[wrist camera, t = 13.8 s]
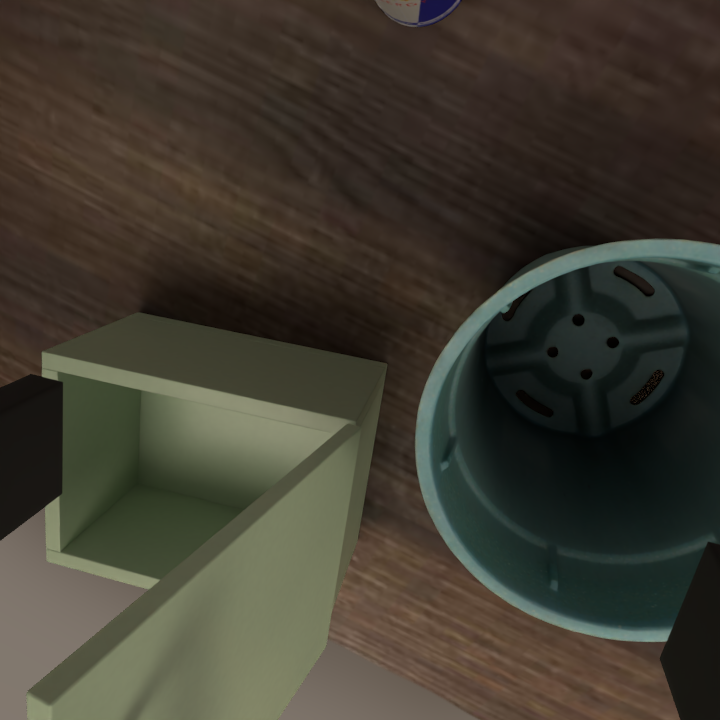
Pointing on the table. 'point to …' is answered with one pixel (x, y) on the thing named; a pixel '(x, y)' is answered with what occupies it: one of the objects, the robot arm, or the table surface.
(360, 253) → the table surface
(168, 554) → the chest
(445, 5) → the beverage can
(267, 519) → the hinged green cover
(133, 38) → the table surface
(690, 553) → the flower pot
